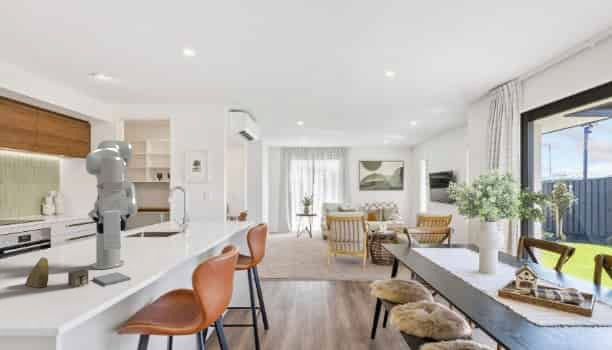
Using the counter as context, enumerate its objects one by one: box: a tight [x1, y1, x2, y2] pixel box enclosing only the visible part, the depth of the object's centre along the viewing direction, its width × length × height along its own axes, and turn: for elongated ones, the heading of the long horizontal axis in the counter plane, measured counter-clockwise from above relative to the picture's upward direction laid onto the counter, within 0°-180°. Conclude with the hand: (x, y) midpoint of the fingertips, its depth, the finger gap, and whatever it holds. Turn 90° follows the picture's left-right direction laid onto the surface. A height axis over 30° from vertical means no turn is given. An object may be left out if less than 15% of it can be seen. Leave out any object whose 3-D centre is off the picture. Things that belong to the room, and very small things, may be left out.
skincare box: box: [103, 210, 122, 250], centre depth 127 cm, size 8×6×15 cm
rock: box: [24, 257, 49, 288], centre depth 120 cm, size 11×9×10 cm
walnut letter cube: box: [67, 268, 89, 288], centre depth 121 cm, size 5×5×5 cm
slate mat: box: [92, 271, 131, 287], centre depth 127 cm, size 12×9×1 cm
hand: (111, 231), depth 127 cm, fingers closed on skincare box, 7 cm apart
